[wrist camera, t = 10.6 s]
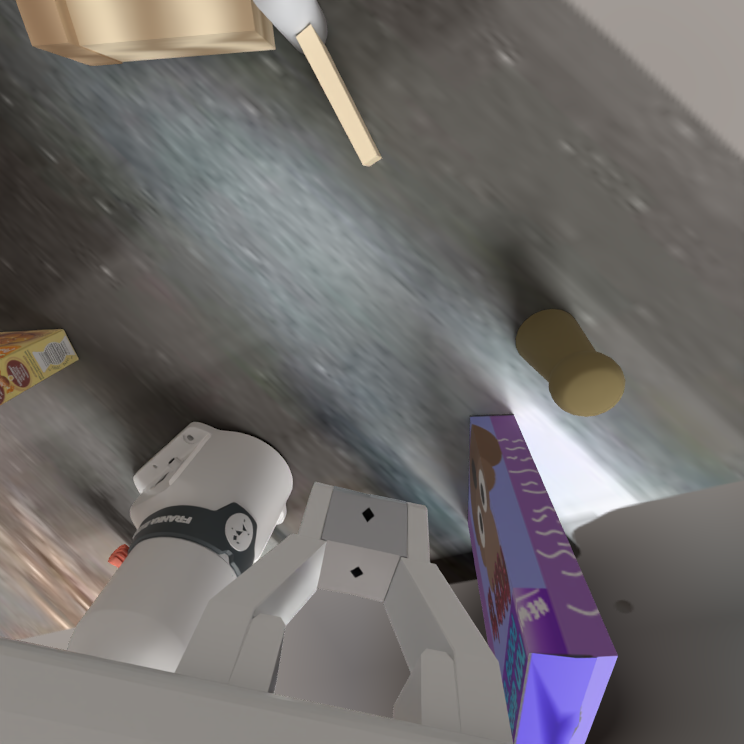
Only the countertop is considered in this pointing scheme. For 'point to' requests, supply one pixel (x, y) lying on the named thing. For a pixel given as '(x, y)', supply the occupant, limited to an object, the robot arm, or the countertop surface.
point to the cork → (570, 363)
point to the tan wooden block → (145, 28)
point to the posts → (321, 65)
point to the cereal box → (532, 593)
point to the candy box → (31, 359)
